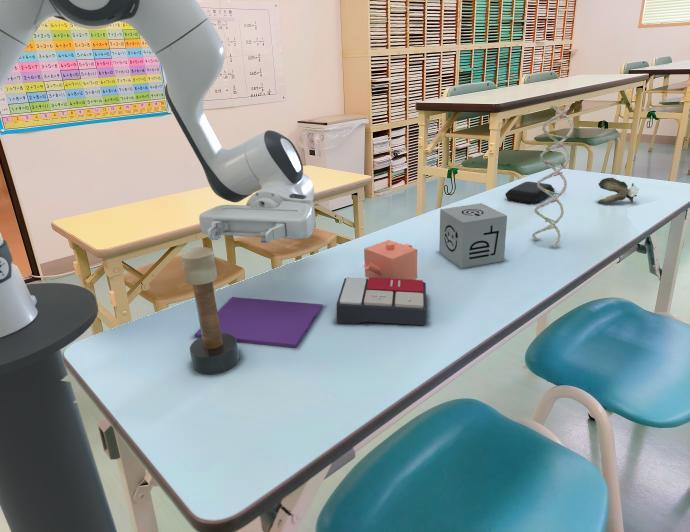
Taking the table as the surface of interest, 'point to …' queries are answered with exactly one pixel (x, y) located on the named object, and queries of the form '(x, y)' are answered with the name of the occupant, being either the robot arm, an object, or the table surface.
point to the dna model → (554, 173)
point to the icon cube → (472, 235)
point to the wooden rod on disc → (208, 315)
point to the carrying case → (528, 192)
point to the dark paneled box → (382, 301)
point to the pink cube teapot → (390, 261)
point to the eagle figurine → (617, 190)
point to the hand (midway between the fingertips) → (237, 236)
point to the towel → (266, 321)
